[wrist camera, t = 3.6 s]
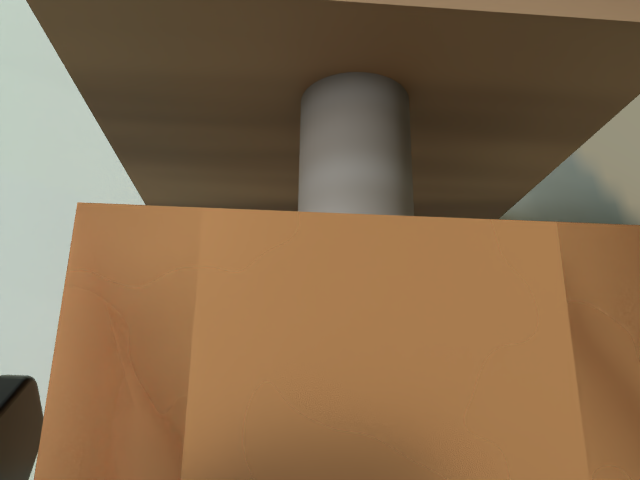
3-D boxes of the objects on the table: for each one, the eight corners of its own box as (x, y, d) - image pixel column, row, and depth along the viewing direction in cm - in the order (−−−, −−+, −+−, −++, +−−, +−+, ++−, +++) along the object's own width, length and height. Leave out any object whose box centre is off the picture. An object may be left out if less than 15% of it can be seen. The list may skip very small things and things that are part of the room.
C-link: (418, 460, 15) (729, 548, 5) (197, 458, 15) (22, 551, 4) (413, 350, 16) (667, 226, 6) (206, 345, 16) (77, 202, 5)
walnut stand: (444, 477, 16) (860, 614, 5) (163, 475, 16) (-135, 629, 4) (429, 189, 19) (669, -158, 8) (190, 179, 18) (57, -217, 7)
